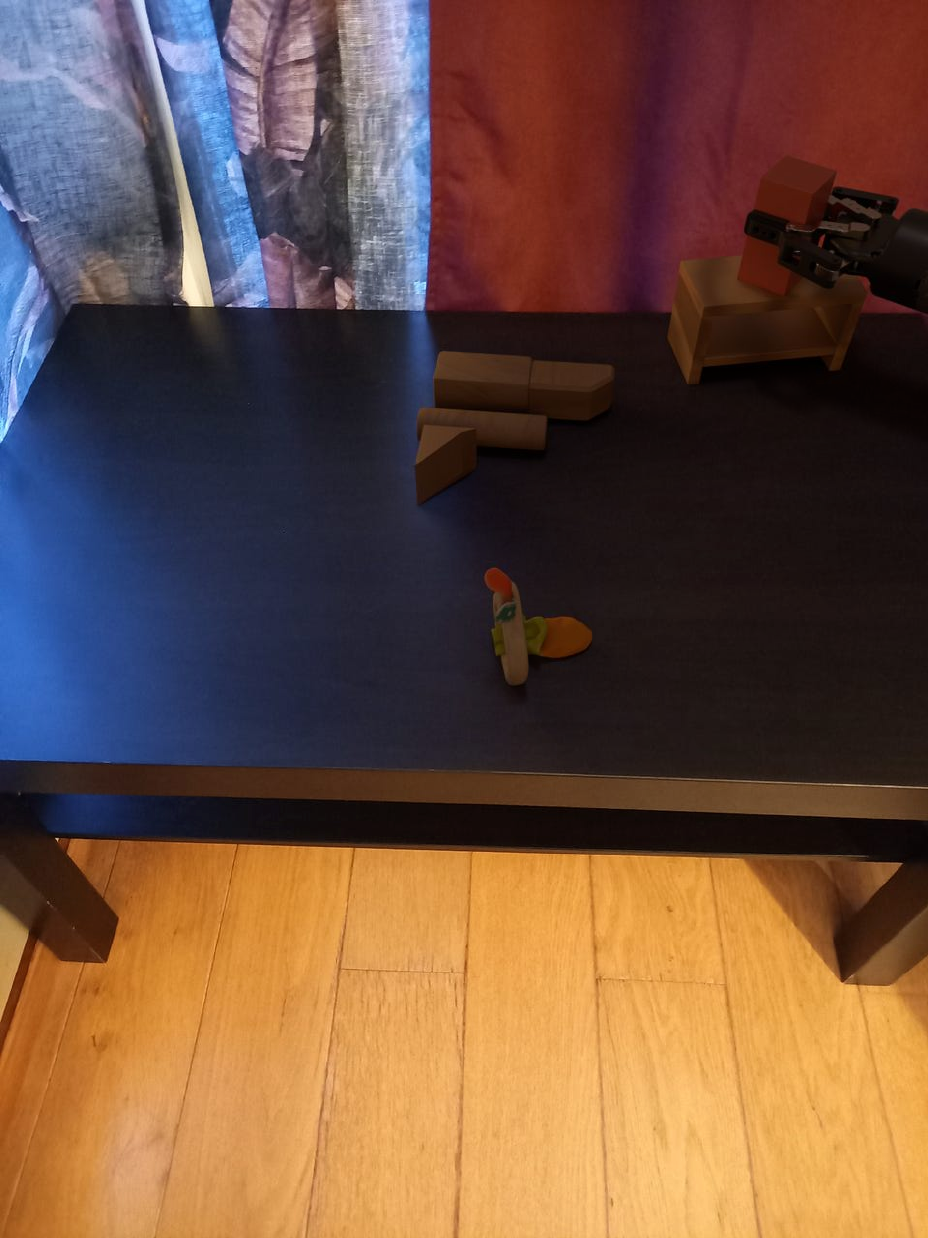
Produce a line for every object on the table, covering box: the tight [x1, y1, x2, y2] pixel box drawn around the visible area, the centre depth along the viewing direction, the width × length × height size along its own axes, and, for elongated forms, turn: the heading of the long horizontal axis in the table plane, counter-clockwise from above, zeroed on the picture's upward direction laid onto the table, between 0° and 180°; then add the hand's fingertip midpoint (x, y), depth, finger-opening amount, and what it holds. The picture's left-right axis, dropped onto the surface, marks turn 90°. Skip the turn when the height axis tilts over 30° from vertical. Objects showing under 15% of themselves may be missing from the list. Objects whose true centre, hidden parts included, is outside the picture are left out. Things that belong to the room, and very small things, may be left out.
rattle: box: [484, 567, 593, 686], centre depth 70 cm, size 8×8×12 cm
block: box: [737, 155, 838, 296], centre depth 87 cm, size 5×5×10 cm
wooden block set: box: [414, 350, 615, 506], centre depth 87 cm, size 17×6×18 cm
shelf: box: [666, 254, 869, 386], centre depth 95 cm, size 16×8×9 cm, turn 97°
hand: (761, 208), depth 87 cm, fingers closed on block, 5 cm apart
